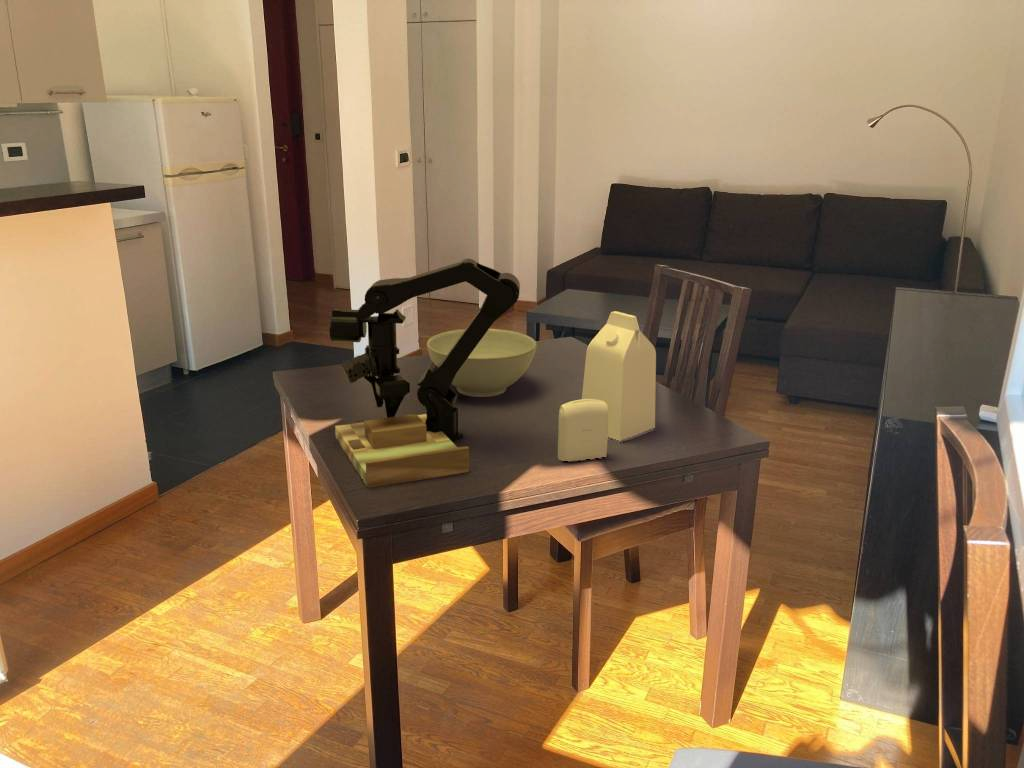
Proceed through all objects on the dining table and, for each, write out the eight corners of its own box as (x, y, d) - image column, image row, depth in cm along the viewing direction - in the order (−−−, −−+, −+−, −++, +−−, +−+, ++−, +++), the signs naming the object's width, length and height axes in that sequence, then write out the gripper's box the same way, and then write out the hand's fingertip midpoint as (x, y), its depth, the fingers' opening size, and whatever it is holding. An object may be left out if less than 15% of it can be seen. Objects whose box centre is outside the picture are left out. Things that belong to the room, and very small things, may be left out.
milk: (654, 430, 189) (663, 315, 181) (619, 443, 182) (626, 323, 173) (614, 415, 197) (620, 305, 189) (578, 427, 190) (583, 312, 182)
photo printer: (560, 464, 171) (563, 405, 167) (554, 455, 175) (556, 398, 171) (609, 459, 173) (612, 401, 169) (602, 451, 177) (605, 394, 173)
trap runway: (335, 436, 182) (334, 414, 181) (425, 424, 190) (425, 403, 188) (367, 488, 159) (367, 463, 157) (469, 471, 167) (469, 447, 165)
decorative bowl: (535, 373, 226) (536, 329, 222) (535, 408, 201) (537, 359, 197) (433, 371, 227) (432, 327, 223) (421, 406, 201) (420, 356, 197)
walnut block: (364, 436, 176) (364, 420, 175) (416, 429, 180) (416, 413, 179) (373, 448, 170) (372, 432, 169) (426, 441, 174) (426, 425, 173)
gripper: (334, 334, 182) (337, 403, 187) (353, 359, 166) (357, 434, 171) (385, 330, 186) (387, 398, 191) (409, 353, 170) (411, 427, 175)
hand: (384, 413), depth 182 cm, fingers open, 8 cm apart
